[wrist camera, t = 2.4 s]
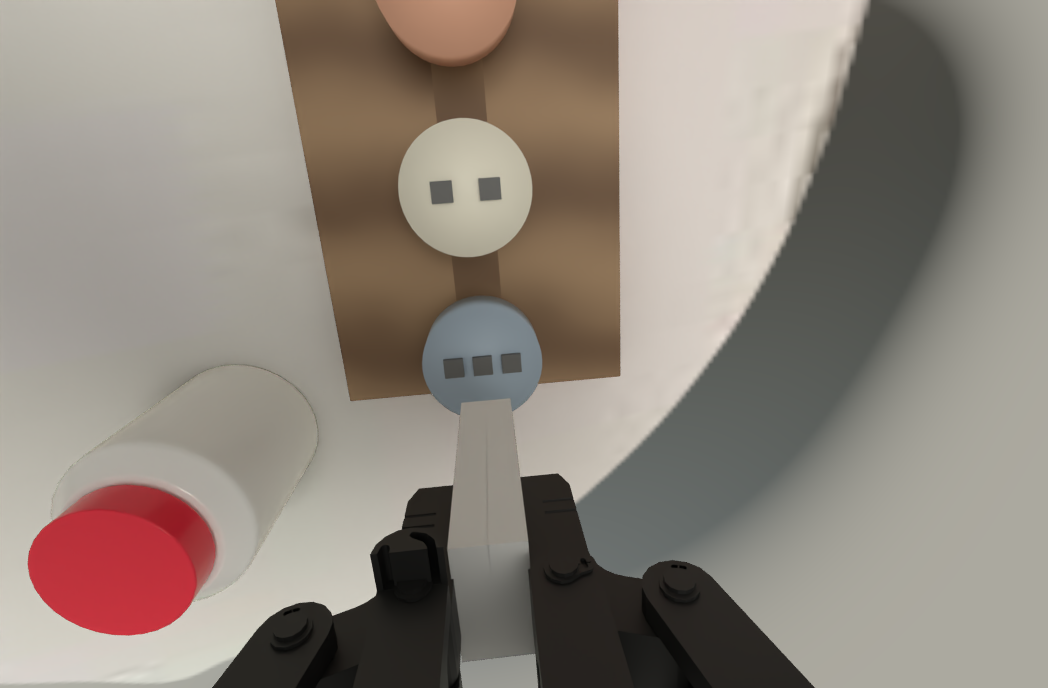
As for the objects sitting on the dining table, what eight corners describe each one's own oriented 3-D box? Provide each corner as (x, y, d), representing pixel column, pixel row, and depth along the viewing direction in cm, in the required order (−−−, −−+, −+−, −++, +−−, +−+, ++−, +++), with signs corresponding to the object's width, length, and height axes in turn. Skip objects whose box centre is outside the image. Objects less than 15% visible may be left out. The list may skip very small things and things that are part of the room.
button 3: (425, 289, 25) (414, 313, 20) (529, 281, 25) (539, 302, 21) (437, 386, 26) (429, 426, 22) (535, 377, 26) (545, 415, 22)
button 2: (404, 131, 22) (387, 122, 18) (519, 124, 23) (528, 112, 19) (419, 247, 24) (407, 263, 20) (526, 239, 24) (536, 252, 20)
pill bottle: (347, 446, 29) (274, 596, 19) (238, 512, 30) (110, 690, 20) (255, 337, 27) (115, 440, 17) (139, 411, 28) (-65, 553, 17)
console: (281, -48, 22) (262, -69, 20) (606, -62, 23) (617, -84, 21) (359, 385, 28) (350, 401, 26) (611, 363, 29) (620, 376, 27)
